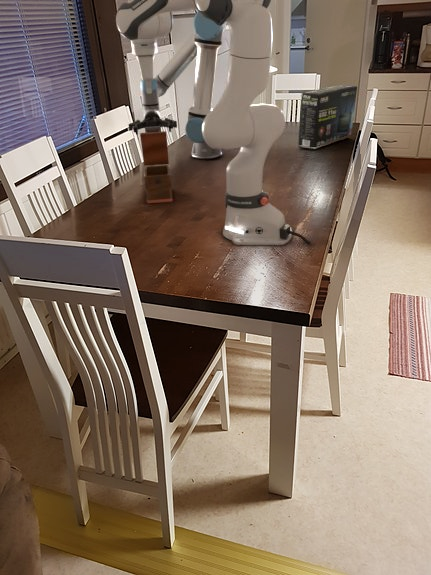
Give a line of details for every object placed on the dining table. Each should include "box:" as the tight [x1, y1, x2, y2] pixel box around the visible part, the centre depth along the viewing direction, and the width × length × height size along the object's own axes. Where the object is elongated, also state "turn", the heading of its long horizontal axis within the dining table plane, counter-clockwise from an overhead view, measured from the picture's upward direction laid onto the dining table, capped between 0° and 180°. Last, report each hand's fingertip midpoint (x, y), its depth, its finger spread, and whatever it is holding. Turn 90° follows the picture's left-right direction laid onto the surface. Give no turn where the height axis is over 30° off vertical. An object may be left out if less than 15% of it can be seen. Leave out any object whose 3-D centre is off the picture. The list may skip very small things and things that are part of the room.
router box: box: [297, 84, 358, 151], centre depth 238 cm, size 36×11×27 cm, turn 134°
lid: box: [139, 126, 170, 167], centre depth 179 cm, size 14×10×8 cm
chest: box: [143, 164, 174, 204], centre depth 180 cm, size 14×10×10 cm
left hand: (153, 129), depth 186 cm, fingers open, 13 cm apart
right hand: (149, 91), depth 164 cm, fingers open, 8 cm apart
